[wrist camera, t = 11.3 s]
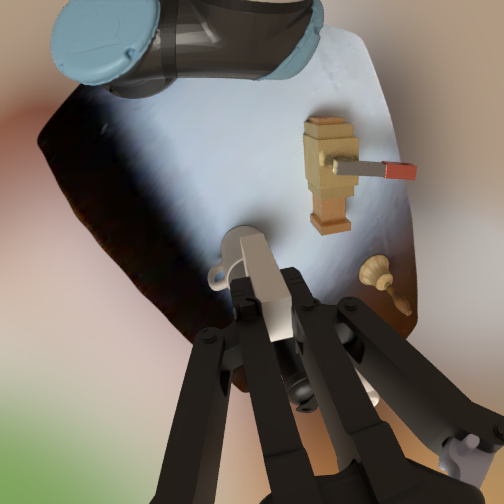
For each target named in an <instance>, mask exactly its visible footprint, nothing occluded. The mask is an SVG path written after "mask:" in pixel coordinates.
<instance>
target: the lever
mask: <svg viewBox="0 0 504 504" xmlns="http://www.w3.org/2000/svg"><path fill="white" fill-rule="evenodd" d="M416 169H417V166H415V165H413V164H409V163H399V162H388V161H382V162H369V161H351V160H348V159H346V158H344V157H342V156H338V157H336V158H335V159H334V160H333V173H334V174H336V175H351V176H379V177H384V178H390V179H409V180H415V176H416Z"/></svg>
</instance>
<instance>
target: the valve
mask: <svg viewBox="0 0 504 504" xmlns="http://www.w3.org/2000/svg"><path fill="white" fill-rule="evenodd" d="M304 127H305V134H303V143H304V157H305V174H306V178H307V179H308V189H309V190H310V191H311V192H312V193H313V214H311V215H310V218H311V223H312V224H313V226H314V227H315V228H316V229H317V231H318V232H319V233H320V234H321V236H322V235H328V234H333V233H338V232H344V231H349V230H351V222H350V221H349V220H348V219H347V218H346V217H345V212H346V197H349V196H354V185H358V176H351V175H336V174H334V173H333V160H334V159H335V158H336V157H338V156H342V157H344V158H346V159H348V160H351V161H359V158H358V138H357V137H354V132H353V124H351V123H347V122H344V118H340V117H335V116H321V117H308V122H304Z"/></svg>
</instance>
